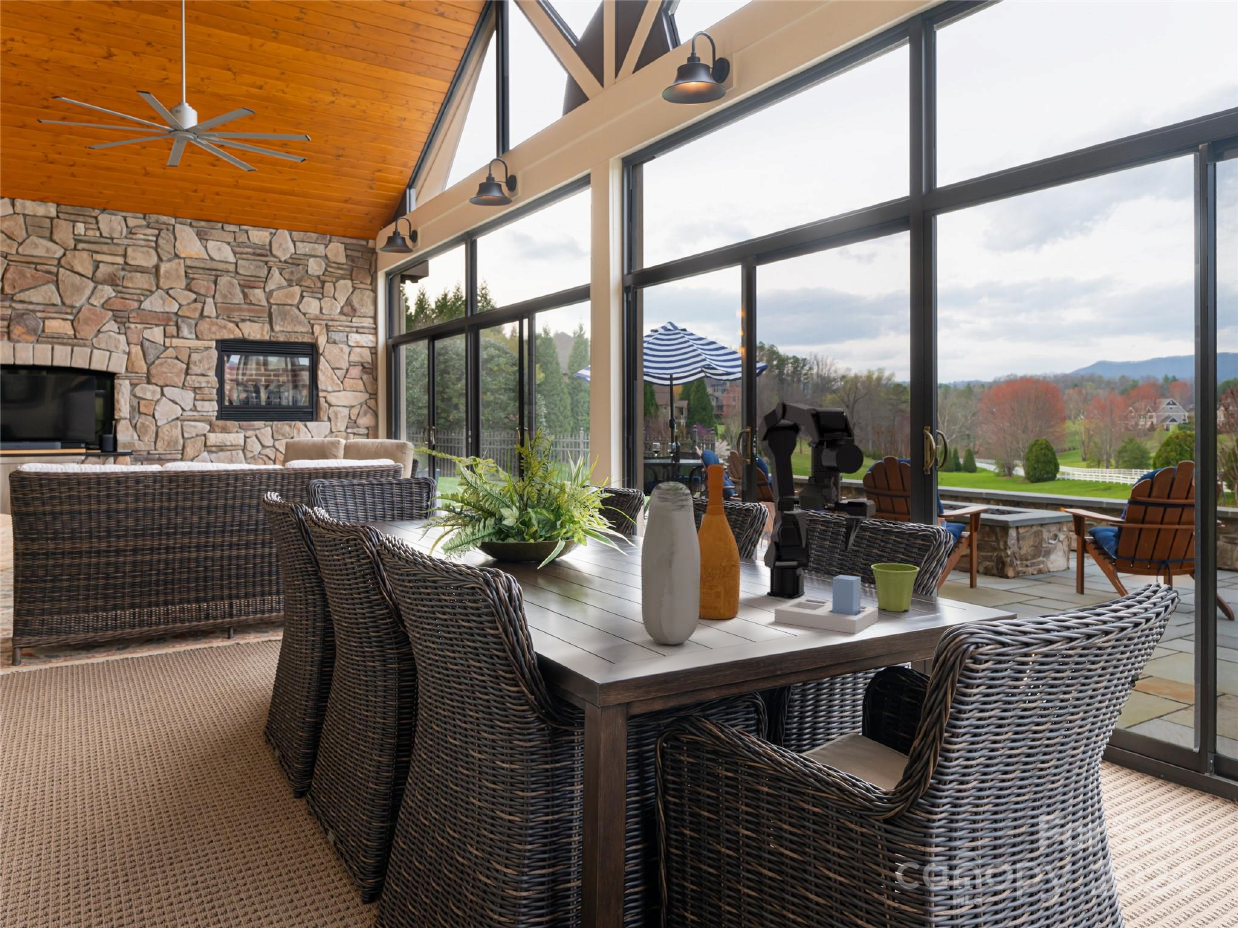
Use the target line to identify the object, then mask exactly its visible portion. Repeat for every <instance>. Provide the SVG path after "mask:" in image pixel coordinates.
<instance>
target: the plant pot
mask: <svg viewBox="0 0 1238 928" xmlns="http://www.w3.org/2000/svg"><path fill="white" fill-rule="evenodd" d="M870 568H871V570H872V572H873V576H874V578H875V579H874V580H875V587H876V595H877V596H876V597H877V603H878V609H880V610H886V611H887V612H898V613H900V612H904V611H910V609H911V605H912V604H911V602H912V597H913V590H914V584H915V579H916V578H917V574H918V572H919V571H920V567H918V566H915V565H911V564H906V563H892V562H891V563H889V562H888V563H887V562H886V563H885V562H884V563H874V564H872V565H871V566H870Z"/></svg>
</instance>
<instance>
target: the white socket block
mask: <svg viewBox="0 0 1238 928" xmlns="http://www.w3.org/2000/svg"><path fill="white" fill-rule="evenodd" d="M774 622H775V623H782V624H787V625H794V626H795V625H796V626H801V627H802V626H803V627H809V628H815V629H821V630H829V631H835V632H842V633H847V634H858V633H859V632H862V631H863V630H865V629H867V628H869V627H870V626H872V625H874V624H876V623H877V622H879V607H870V606H862V605H860V614H858V615H856V616H853V615H845V614H838V613H832V602H831V601H823V600H815V599H808V598H797V599H795V600H793V601H790V602H788V603H786V604H785V603H784V604H783V605H780V606H778V607H776V608H774Z"/></svg>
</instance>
